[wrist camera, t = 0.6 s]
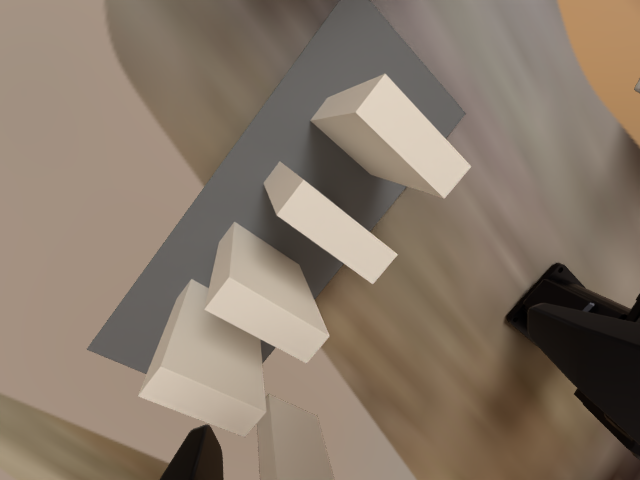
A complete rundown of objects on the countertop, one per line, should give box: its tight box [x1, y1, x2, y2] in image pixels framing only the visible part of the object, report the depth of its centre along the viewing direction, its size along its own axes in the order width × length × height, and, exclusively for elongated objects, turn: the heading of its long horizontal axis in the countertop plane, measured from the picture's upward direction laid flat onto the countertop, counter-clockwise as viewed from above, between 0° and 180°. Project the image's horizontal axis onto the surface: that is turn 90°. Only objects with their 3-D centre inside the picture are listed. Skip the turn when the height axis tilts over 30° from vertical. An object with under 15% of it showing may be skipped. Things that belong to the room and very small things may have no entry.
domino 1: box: [138, 279, 266, 437], centre depth 17 cm, size 2×5×8 cm, turn 50°
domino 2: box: [264, 162, 398, 284], centre depth 16 cm, size 2×5×8 cm, turn 51°
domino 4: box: [257, 394, 334, 480], centre depth 22 cm, size 2×5×8 cm, turn 50°
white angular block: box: [310, 74, 471, 198], centre depth 16 cm, size 2×5×8 cm, turn 51°
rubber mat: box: [87, 0, 466, 374], centre depth 20 cm, size 10×26×1 cm, turn 141°
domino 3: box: [204, 222, 329, 363], centre depth 17 cm, size 2×5×8 cm, turn 50°
